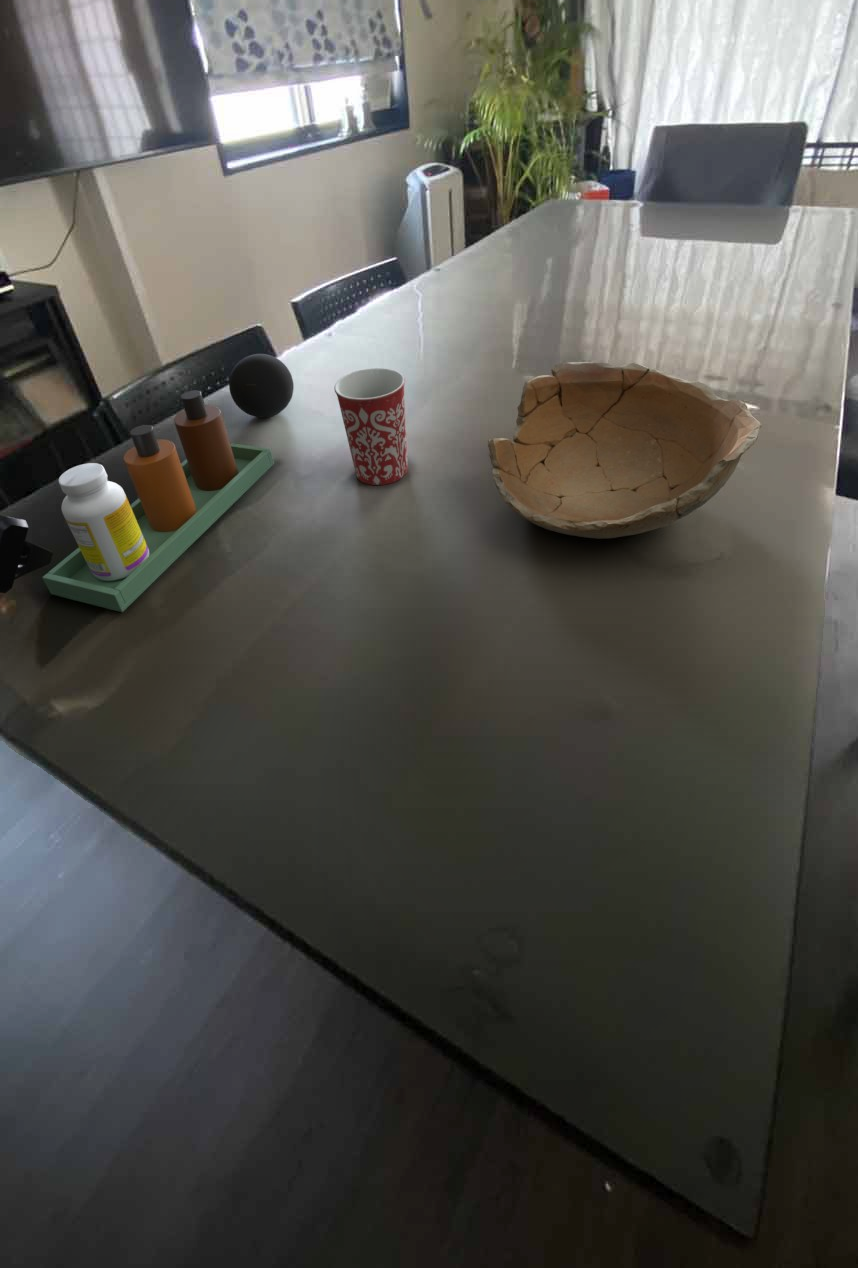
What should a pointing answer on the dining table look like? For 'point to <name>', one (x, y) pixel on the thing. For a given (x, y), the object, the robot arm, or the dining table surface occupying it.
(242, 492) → the tray
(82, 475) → the supplement bottle
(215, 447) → the dark amber bottle
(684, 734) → the dining table surface
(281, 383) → the speaker
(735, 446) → the ceramic bowl
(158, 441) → the amber bottle
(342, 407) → the mug
